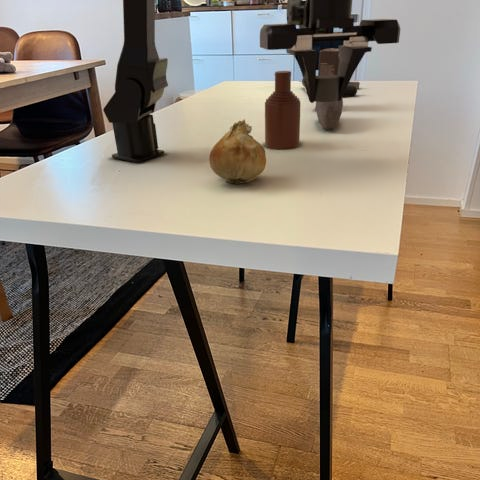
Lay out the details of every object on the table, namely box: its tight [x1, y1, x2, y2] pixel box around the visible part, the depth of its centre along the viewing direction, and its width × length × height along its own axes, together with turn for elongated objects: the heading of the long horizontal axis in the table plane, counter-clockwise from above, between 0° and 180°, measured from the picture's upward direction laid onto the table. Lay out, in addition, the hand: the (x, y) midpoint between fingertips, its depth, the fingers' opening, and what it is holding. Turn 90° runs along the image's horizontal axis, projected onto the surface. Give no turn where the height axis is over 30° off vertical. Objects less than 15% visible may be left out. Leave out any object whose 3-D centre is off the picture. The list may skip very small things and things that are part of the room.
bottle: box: [264, 70, 301, 150], centre depth 81 cm, size 6×6×12 cm
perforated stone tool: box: [315, 97, 344, 130], centre depth 94 cm, size 15×5×7 cm, turn 168°
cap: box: [314, 74, 340, 103], centre depth 71 cm, size 4×4×3 cm
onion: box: [208, 118, 267, 185], centre depth 66 cm, size 8×8×8 cm
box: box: [315, 48, 340, 111], centre depth 107 cm, size 6×4×12 cm
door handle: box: [298, 78, 361, 97], centre depth 130 cm, size 3×20×16 cm
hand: (325, 101), depth 72 cm, fingers closed on cap, 4 cm apart
